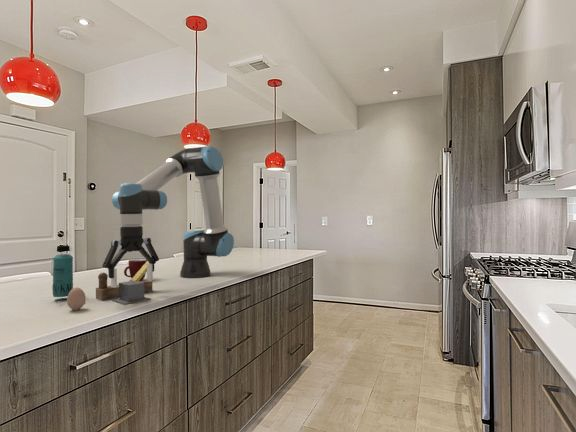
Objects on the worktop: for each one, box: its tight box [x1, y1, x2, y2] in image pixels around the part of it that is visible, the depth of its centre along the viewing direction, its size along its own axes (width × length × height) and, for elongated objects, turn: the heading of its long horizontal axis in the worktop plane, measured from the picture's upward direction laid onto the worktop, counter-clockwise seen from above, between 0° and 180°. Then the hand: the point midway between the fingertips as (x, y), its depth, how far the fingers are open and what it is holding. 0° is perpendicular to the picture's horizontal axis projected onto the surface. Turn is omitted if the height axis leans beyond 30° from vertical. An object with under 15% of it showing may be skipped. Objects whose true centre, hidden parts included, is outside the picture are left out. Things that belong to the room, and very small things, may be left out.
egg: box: [66, 287, 87, 311], centre depth 118 cm, size 5×5×7 cm
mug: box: [123, 258, 147, 281], centre depth 168 cm, size 10×8×10 cm
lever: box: [129, 261, 149, 281], centre depth 145 cm, size 1×4×11 cm
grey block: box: [118, 280, 145, 302], centre depth 131 cm, size 7×6×6 cm
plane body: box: [95, 272, 153, 301], centre depth 140 cm, size 20×5×10 cm, turn 141°
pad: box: [111, 296, 151, 306], centre depth 131 cm, size 10×9×1 cm
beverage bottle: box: [52, 244, 74, 298], centre depth 133 cm, size 6×7×20 cm
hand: (132, 283), depth 131 cm, fingers open, 13 cm apart
